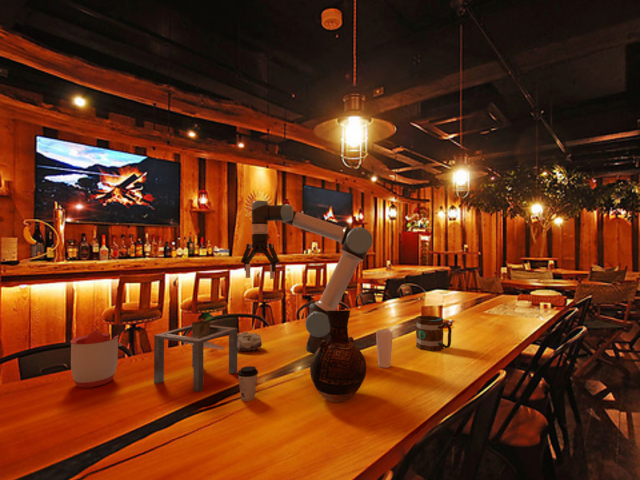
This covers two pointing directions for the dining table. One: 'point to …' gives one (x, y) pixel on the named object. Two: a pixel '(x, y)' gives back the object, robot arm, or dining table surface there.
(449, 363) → the dining table surface
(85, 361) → the citrus juicer
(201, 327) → the brown rounded piece
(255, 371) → the coffee cup
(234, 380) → the dining table surface
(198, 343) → the stand
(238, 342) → the geode
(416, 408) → the dining table surface
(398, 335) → the dining table surface
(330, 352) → the ceramic vessel
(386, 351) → the drinking glass
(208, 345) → the trapdoor
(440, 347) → the mug
